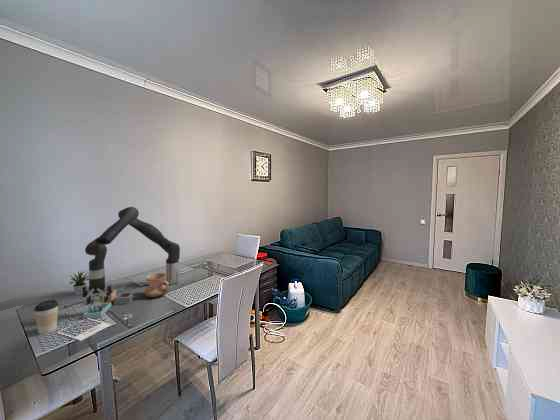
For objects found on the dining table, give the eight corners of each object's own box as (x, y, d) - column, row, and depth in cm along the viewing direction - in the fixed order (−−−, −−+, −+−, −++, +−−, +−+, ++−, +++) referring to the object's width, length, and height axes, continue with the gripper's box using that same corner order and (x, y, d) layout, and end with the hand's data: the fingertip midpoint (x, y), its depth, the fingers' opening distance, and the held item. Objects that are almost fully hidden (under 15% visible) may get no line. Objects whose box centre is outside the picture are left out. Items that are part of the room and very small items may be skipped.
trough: (111, 306, 146) (111, 302, 146) (101, 317, 133) (101, 312, 133) (95, 307, 143) (94, 303, 143) (82, 318, 131) (82, 314, 131)
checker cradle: (136, 295, 162) (136, 289, 161) (129, 304, 149) (129, 297, 149) (122, 296, 160) (122, 290, 159) (114, 305, 147) (113, 298, 147)
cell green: (104, 309, 141) (103, 292, 140) (100, 312, 137) (100, 295, 136) (95, 310, 140) (95, 292, 139) (92, 313, 136) (91, 295, 135)
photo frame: (80, 339, 112) (56, 332, 117) (80, 341, 112) (56, 334, 117) (110, 323, 126) (87, 317, 131) (110, 325, 126) (88, 319, 131)
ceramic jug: (138, 297, 159) (138, 278, 158) (153, 289, 173) (153, 271, 172) (160, 301, 155) (160, 281, 154) (174, 292, 169) (174, 273, 168)
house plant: (75, 299, 154) (74, 275, 153) (59, 296, 157) (58, 273, 156) (96, 290, 168) (95, 269, 167) (81, 288, 171) (80, 267, 170)
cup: (116, 298, 157) (116, 290, 156) (111, 303, 150) (111, 294, 150) (104, 299, 155) (104, 290, 155) (99, 304, 148) (98, 295, 148)
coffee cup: (37, 337, 114) (36, 308, 113) (32, 331, 118) (31, 303, 117) (62, 328, 121) (61, 301, 120) (56, 323, 126) (55, 297, 125)
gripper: (113, 273, 142) (114, 298, 143) (86, 275, 139) (87, 300, 140) (107, 277, 135) (108, 304, 136) (79, 279, 131) (80, 306, 132)
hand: (97, 302), depth 138 cm, fingers open, 8 cm apart
